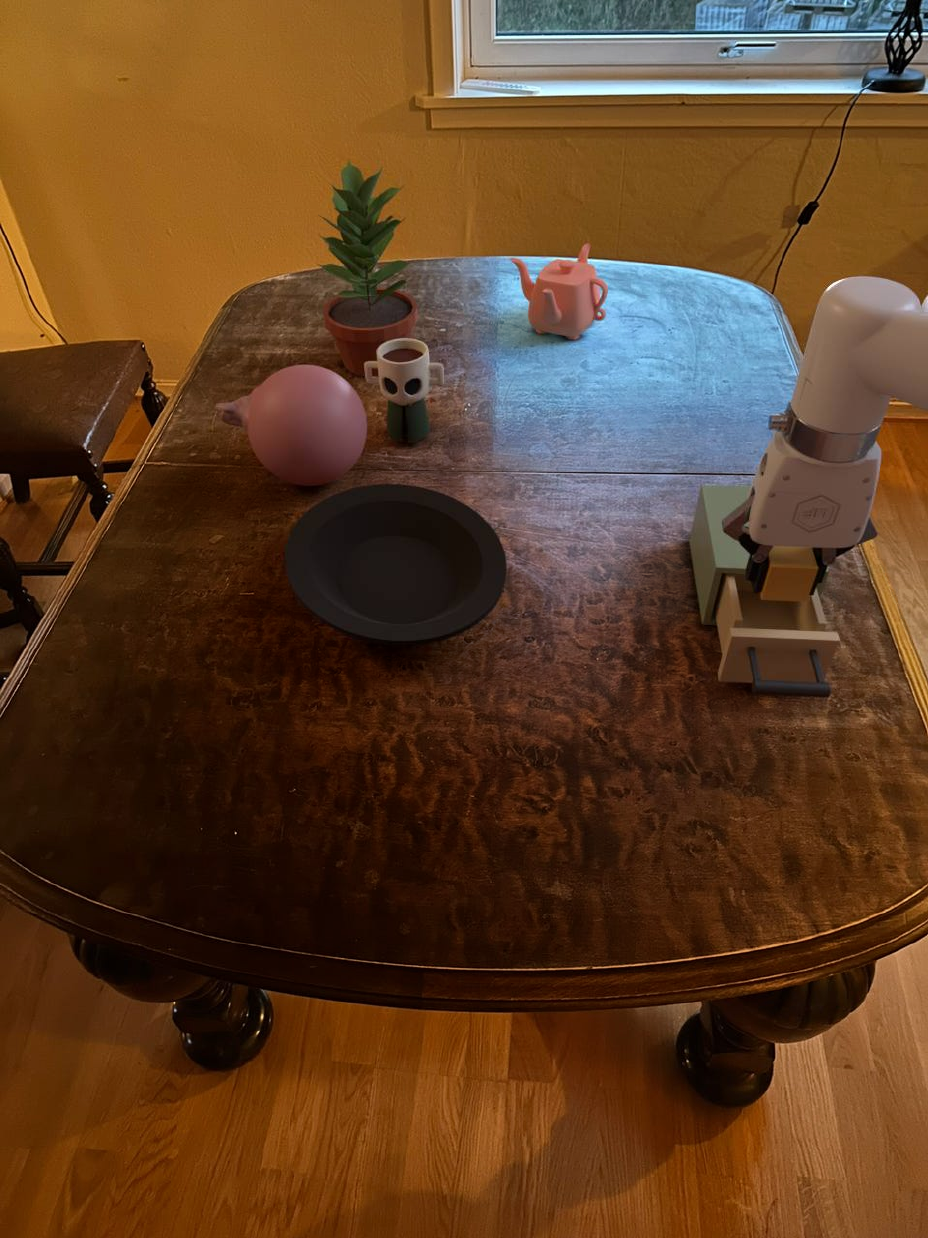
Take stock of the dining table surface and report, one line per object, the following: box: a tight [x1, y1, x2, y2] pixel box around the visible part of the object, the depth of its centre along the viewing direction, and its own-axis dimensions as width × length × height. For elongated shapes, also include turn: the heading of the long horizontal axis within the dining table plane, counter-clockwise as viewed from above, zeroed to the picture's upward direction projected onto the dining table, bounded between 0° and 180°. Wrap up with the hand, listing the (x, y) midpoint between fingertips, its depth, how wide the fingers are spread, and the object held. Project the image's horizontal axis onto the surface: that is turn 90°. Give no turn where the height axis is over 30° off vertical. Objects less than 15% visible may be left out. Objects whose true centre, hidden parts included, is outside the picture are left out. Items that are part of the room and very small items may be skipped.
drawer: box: [714, 573, 841, 698], centre depth 92 cm, size 19×10×7 cm, turn 175°
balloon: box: [214, 364, 368, 487], centre depth 115 cm, size 15×20×15 cm
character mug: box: [364, 338, 445, 443], centre depth 122 cm, size 11×7×13 cm, turn 85°
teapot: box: [509, 242, 609, 340], centre depth 145 cm, size 14×14×11 cm
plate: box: [284, 483, 508, 647], centre depth 102 cm, size 28×24×6 cm
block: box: [760, 546, 818, 602], centre depth 87 cm, size 4×4×4 cm
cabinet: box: [689, 484, 830, 626], centre depth 100 cm, size 15×12×9 cm
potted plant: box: [316, 158, 419, 377], centre depth 131 cm, size 15×15×30 cm
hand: (780, 583), depth 89 cm, fingers closed on block, 4 cm apart
